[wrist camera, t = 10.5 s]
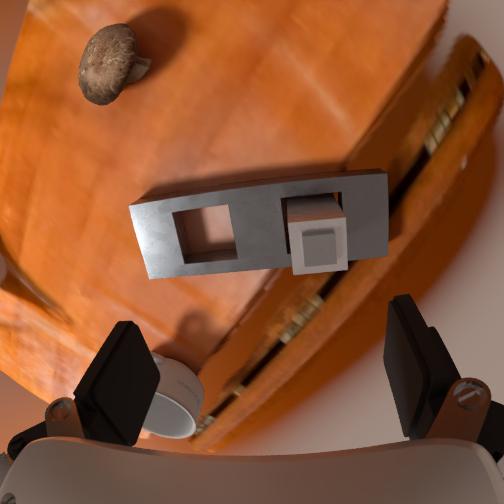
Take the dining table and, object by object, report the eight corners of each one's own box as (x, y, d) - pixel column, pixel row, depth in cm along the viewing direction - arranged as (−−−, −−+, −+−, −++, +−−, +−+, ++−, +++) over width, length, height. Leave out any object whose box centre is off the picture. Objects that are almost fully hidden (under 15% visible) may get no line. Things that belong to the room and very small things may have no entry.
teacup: (205, 405, 44) (194, 447, 37) (137, 387, 44) (119, 426, 37) (214, 338, 38) (200, 386, 31) (131, 318, 38) (105, 359, 31)
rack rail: (157, 268, 35) (149, 279, 33) (138, 198, 32) (128, 206, 29) (381, 245, 31) (388, 256, 29) (379, 168, 28) (387, 173, 26)
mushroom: (174, 61, 23) (107, 51, 18) (135, 123, 28) (76, 123, 24) (152, 17, 24) (95, 7, 20) (119, 74, 29) (67, 71, 25)
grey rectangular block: (286, 195, 30) (287, 225, 22) (330, 190, 30) (347, 220, 22) (291, 236, 32) (293, 278, 24) (333, 231, 31) (348, 273, 23)
